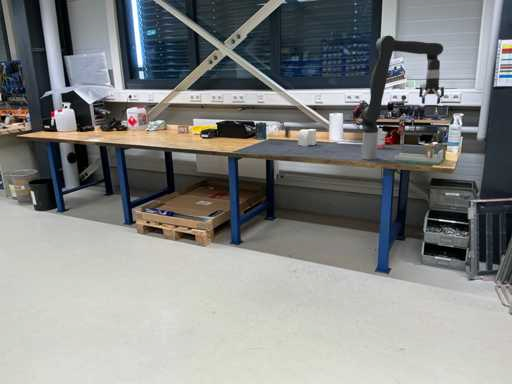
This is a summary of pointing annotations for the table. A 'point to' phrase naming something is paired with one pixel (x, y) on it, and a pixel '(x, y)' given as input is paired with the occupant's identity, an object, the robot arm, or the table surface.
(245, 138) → the table surface
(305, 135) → the light grey block
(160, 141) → the table surface
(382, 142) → the ink cartridge box
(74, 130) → the table surface
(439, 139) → the striker
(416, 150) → the translucent green rectangular tray
